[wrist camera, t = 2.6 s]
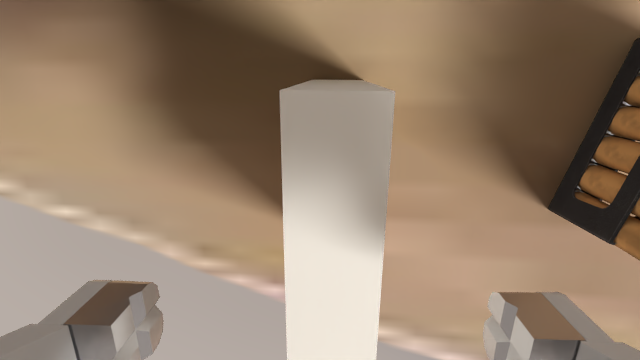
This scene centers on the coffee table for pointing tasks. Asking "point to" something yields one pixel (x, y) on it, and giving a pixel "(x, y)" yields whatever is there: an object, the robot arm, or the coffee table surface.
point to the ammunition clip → (609, 166)
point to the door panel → (334, 215)
